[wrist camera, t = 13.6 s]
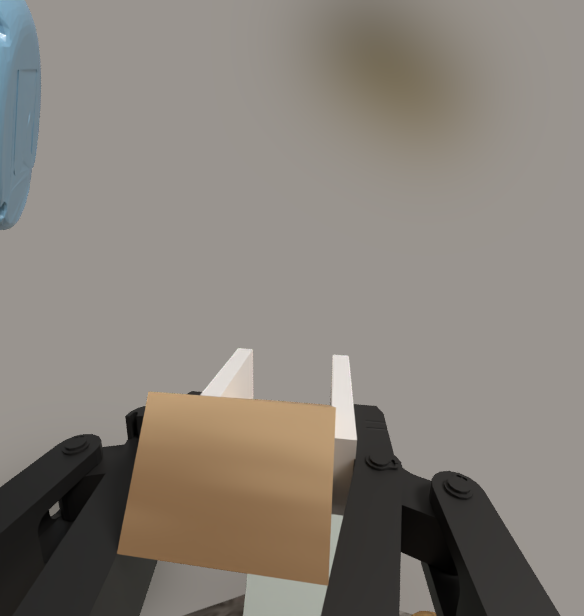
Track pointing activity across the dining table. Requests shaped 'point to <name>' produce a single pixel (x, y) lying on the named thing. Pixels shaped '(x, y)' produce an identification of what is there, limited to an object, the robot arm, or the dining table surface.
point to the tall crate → (288, 590)
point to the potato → (424, 613)
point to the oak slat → (233, 486)
